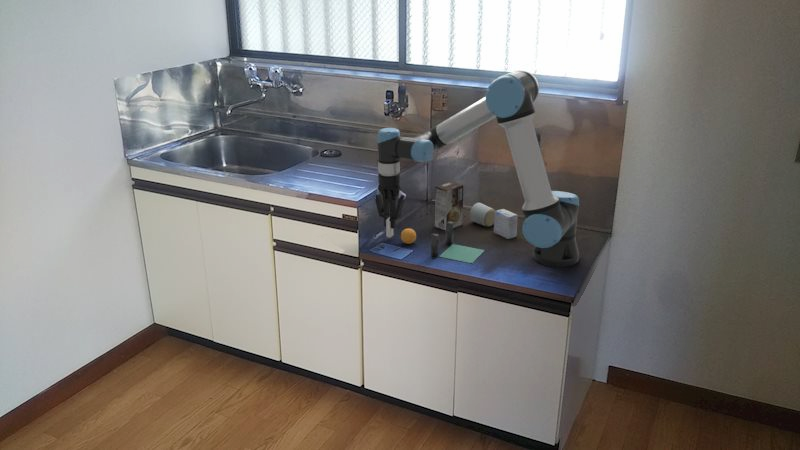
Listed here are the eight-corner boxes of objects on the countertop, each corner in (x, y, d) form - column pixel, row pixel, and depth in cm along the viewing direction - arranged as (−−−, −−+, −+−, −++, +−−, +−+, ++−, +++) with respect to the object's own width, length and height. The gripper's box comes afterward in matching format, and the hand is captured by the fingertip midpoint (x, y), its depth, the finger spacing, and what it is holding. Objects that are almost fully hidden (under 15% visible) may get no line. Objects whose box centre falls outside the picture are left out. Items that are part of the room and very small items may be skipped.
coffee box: (450, 220, 263) (451, 180, 257) (463, 224, 258) (464, 184, 253) (434, 226, 257) (434, 185, 251) (446, 231, 253) (447, 189, 247)
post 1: (439, 255, 232) (440, 234, 229) (436, 258, 230) (436, 236, 227) (432, 254, 233) (433, 232, 230) (429, 257, 231) (429, 235, 228)
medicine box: (516, 237, 247) (518, 214, 244) (507, 239, 245) (509, 217, 242) (502, 230, 254) (503, 208, 250) (493, 232, 251) (494, 210, 248)
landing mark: (484, 250, 236) (484, 250, 236) (472, 263, 226) (472, 263, 226) (452, 244, 241) (452, 244, 241) (438, 256, 231) (438, 256, 231)
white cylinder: (484, 229, 254) (486, 210, 251) (468, 223, 260) (469, 204, 257) (503, 223, 261) (504, 204, 258) (487, 217, 266) (488, 198, 264)
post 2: (454, 242, 242) (454, 221, 239) (451, 245, 240) (451, 224, 237) (447, 241, 243) (447, 220, 241) (444, 244, 241) (444, 223, 238)
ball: (418, 241, 243) (418, 227, 241) (412, 247, 239) (412, 232, 237) (405, 239, 246) (405, 225, 244) (398, 244, 241) (398, 230, 239)
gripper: (410, 172, 236) (410, 235, 245) (377, 167, 242) (379, 229, 251) (400, 178, 230) (401, 242, 239) (367, 173, 236) (369, 236, 244)
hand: (389, 235), depth 245 cm, fingers closed
